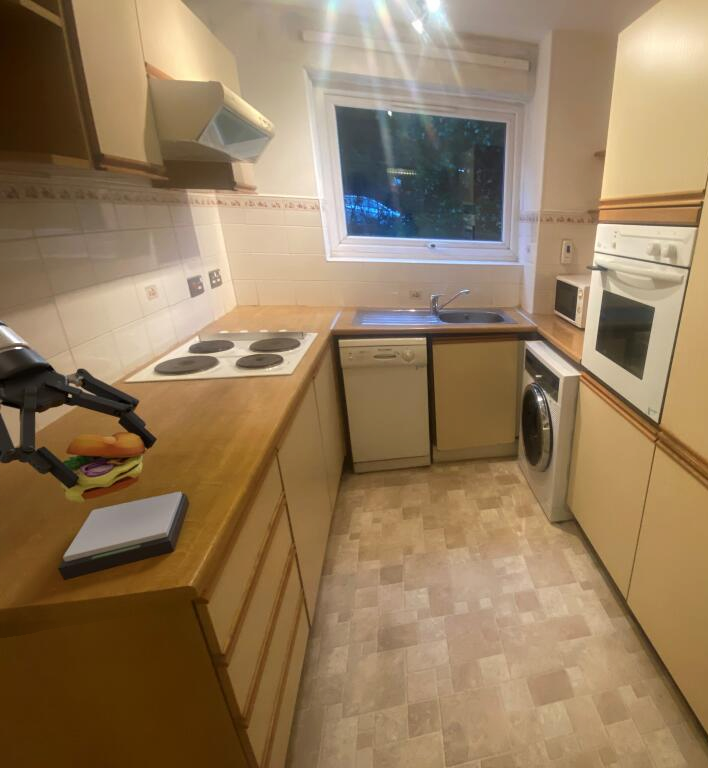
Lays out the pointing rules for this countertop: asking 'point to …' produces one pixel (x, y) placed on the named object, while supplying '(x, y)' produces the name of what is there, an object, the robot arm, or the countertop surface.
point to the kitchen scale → (126, 534)
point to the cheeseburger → (103, 464)
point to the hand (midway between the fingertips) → (116, 462)
